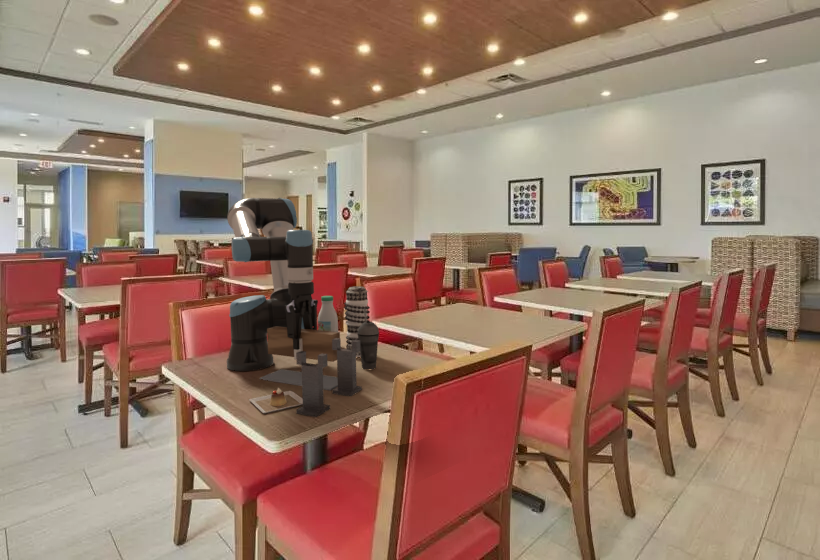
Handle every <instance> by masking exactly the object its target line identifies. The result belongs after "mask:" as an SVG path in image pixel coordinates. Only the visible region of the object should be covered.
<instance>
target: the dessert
mask: <svg viewBox="0 0 820 560" xmlns="http://www.w3.org/2000/svg"><path fill="white" fill-rule="evenodd" d="M286 396H290V397H291V398H292V399H294V400H295V401H297V403H298V404H294V405H289V406H285V407H281V408H277V409H276V408H275V409H273V410H268V411H265V409H263V408H262V406H260V405H259V403H257V402H260V401H264V400H265V401H266V400H269V406H272V407H279V406H284V405H286V404H287V403H288V402H287V399H286ZM248 401H250V403H252V404H253V405H254V406H255V407H256V408H257V409H258V410H259V411H260V412H261V413H262V414H269V413H273V412H278V411H282V410H283V411H284V410H286V409H291V408H295V407H299V406H303V397H301V396H300V395H298V394H297V393H296V392H294V391H293V390H286V391H283V390H281V388H280V387H277V389H276V390H273V391H272V392H271V394H268V395H262V396H257V397H252V398H249V399H248Z"/></svg>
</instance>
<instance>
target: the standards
mask: <svg viewBox="0 0 820 560" xmlns="http://www.w3.org/2000/svg"><path fill="white" fill-rule="evenodd" d="M341 344H342V343H341V337H340V338H334V339H332V350H337V360H336V366H337V367H336V368H337V370H336V371H337V372H336V373H337V376H336V377H338V387H336V388H334V389H332V390H331V392H332V394H334V395H338V396H339V395H341V396H345V397H346V396H347V397H352V396H354V395H355V393H356V394H358V393H359V392H361V391H362V390H363V388H362V387H363V386H360V385H357V358H356V353H357V352H359V351H360V340H354V341H352V350H348V349H347V348H341V346H342V345H341ZM328 363H329V361H327V354H323V353H322V354H320V355H318V360H317V363H309V362H307V359H306V351H300V352H297V353H296V365H299V366H301V372H302V386H301V390H302V392H301V393H302V399H303V405H301V407H299V408H297V409H296V410H295V411H296V415H297V414H298V415H301V416H302V415H303V416H307V417H308V416H309V417H312V418H318V417H320V415H322V414H324V413H326V412H327V411H329V410H331V405H330V404H327V403H326V404H325V402H324V401H325V398H324V397H325V395H324V389H323V375H324V368H325V367H328ZM360 390H361V391H360Z"/></svg>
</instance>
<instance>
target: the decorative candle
mask: <svg viewBox="0 0 820 560" xmlns="http://www.w3.org/2000/svg"><path fill="white" fill-rule="evenodd" d="M345 292H346V293H345V294H346V300H345V302H344V310H345V312H344V314H345V317H344V319H345V320H346V321H345V325H346V328H347V329H346V330H347V331H346V336H345V338H346V340H345V342H346V345H345V349H348V350H352V341H354V340H359V339H358V335H357V333H358V329H359V327H360V325H361V324H362V323H364V322H365V315H364V308H365V311H366V318H367V322H368V321H369V322H371V321H370V320H369V319H370V317H371V316H369V315H368V314H370V312H371V311H370V310H369V309H370V308H371V307H370V306H369V305H368V304H369V300H368V293H369V290H367V289H366V288H365V287H364V286H360V285H359V286H357V285H356V286H349V288H348V289H347V290H346V291H345ZM356 357H361V354H360V351H359V352H357V353H356Z"/></svg>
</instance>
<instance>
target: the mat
mask: <svg viewBox="0 0 820 560" xmlns="http://www.w3.org/2000/svg"><path fill="white" fill-rule="evenodd" d="M261 379H263V381H267V380H268V382H273V383H274V382H275V383H280V384H287V385H288V384H289V385H293V386H300V387H302V371H296V370H290V369H283V368H281V369H278V370H276V371H273V372H270V373H268V374H266V375H264V376H263V375H262V376H261V377H259V380H261ZM337 387H338V376H332V375H325V374H323V391H324V390H325V391H332V390H334V389H335V388H337Z"/></svg>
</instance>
